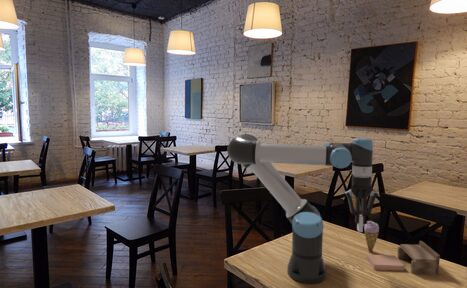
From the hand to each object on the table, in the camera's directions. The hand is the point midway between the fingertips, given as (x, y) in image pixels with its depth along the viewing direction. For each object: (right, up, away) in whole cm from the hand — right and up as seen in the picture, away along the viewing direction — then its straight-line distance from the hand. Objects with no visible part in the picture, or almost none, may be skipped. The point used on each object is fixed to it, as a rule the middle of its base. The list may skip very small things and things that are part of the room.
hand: (359, 230), depth 129 cm
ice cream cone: (+10, -13, +13) cm, 21 cm away
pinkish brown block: (+11, -15, +1) cm, 19 cm away
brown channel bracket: (+24, -15, -1) cm, 28 cm away
